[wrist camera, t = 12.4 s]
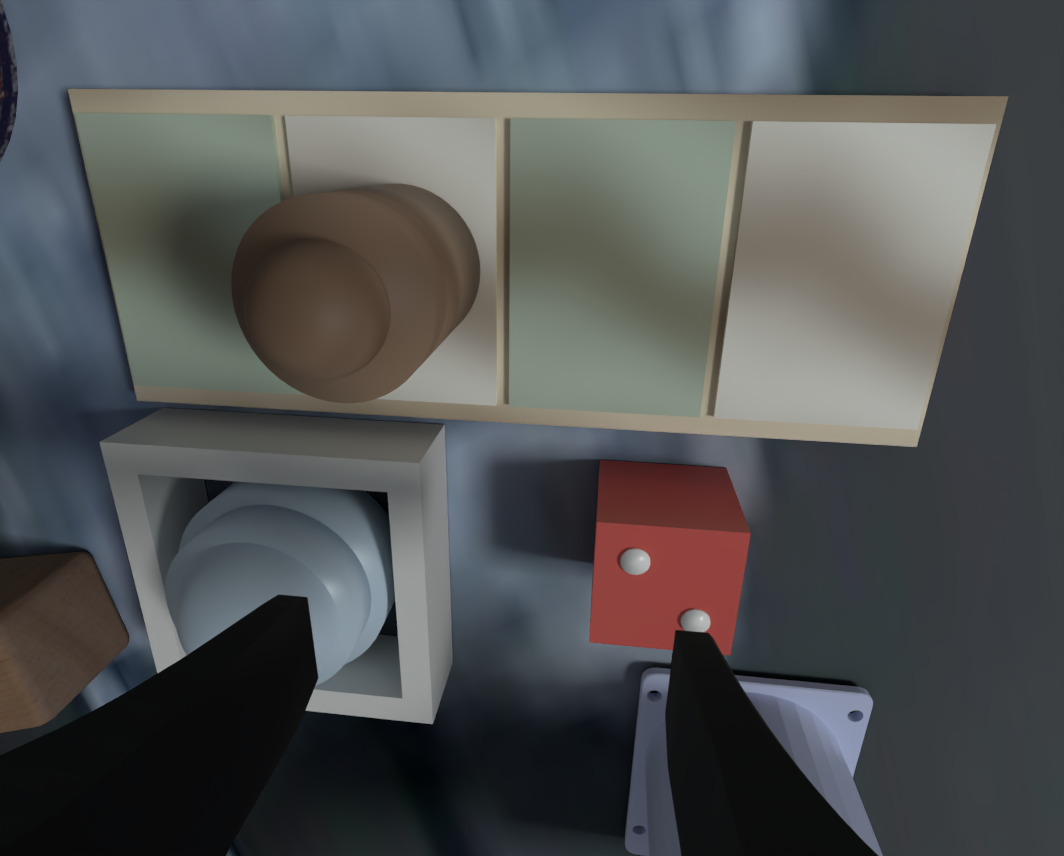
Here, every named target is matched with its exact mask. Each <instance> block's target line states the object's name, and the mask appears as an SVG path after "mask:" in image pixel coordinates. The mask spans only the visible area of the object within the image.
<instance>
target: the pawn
mask: <svg viewBox="0 0 1064 856" xmlns="http://www.w3.org/2000/svg"><path fill="white" fill-rule="evenodd" d="M479 283H480V259H479V254H478V249H477V246H476V243H475V240H474V238H473V236H472V233H471V231H470V229H469V228H468V226H467V224H466V223H465V221H464V220H463V218H462V217H461V216H460V215H459V213H458V212H457V211H456V210H455V209H454V208H453V207H452V206H451V205H450V204H449V203H447V202H446V201H445V200H443V199H442V198H441V197H439V196H437V195H436V194H434V193H432V192H430V191H428V190H425V189H423V188H420V187H417V186H413V185H407V184H385V185H377V186H369V187H362V188H354V189H346V190H339V191H331V192H323V193H316V194H308V195H302V196H296V197H293V198H290V199H287V200H284V201H282V202H280V203H278V204H276V205H274V206H272V207H270V208H269V209H268V210H266V211H265V212H264V213H262V214H261V215H260V216H259V217H258V218H257V219H256V220H255V221H254V222H253V223H252V224H251V226H250V227H249V228H248V230H247V231H246V233H245V234H244V236H243V238H242V240H241V242H240V244H239V246H238V248H237V251H236V255H235V258H234V262H233V268H232V277H231V290H232V300H233V305H234V310H235V314H236V317H237V320H238V323H239V326H240V328H241V330H242V332H243V334H244V337H245V338H246V340H247V342H248V343H249V345H250V347H251V349H252V350H253V351H254V353H255V354H256V355H257V357H258V358H259V359H260V361H261V362H262V363H263V364H264V365H265V366H266V367H267V368H268V369H269V370H270V371H271V372H272V373H273V374H274V375H276V376H277V377H278V378H279V379H280V380H282V381H283V382H285V383H286V384H288V385H289V386H291V387H292V388H294V389H296V390H298V391H300V392H302V393H304V394H306V395H309V396H311V397H314V398H317V399H321V400H324V401H329V402H336V403H359V402H366V401H370V400H374V399H377V398H379V397H382V396H384V395H387V394H389V393H390V392H392V391H394V390H395V389H397V388H398V387H400V386H401V385H402V384H403V383H405V382H406V381H407V380H408V379H409V378H410V377H411V376H412V375H413V373H414V372H415V371H416V370H417V369H418V368H419V367H420V366H421V365H422V364H423V363H424V362H425V361H426V359H427V358H428V357H429V356H430V355H431V354H432V353H433V352H434V351H435V350H436V349H437V348H438V346H439V345H440V344H441V343H442V342H443V341H444V340H445V339H446V338H447V337H448V336H449V335H450V334H451V332H452V331H453V330H454V329H455V328H456V327H457V326H458V325H459V324H460V323H461V322H462V321H463V320H464V318H465V317H466V316H467V314H468V313H469V311H470V309H471V308H472V306H473V304H474V301H475V299H476V296H477V293H478V288H479Z"/></svg>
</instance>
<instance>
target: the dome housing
mask: <svg viewBox="0 0 1064 856" xmlns="http://www.w3.org/2000/svg"><path fill="white" fill-rule="evenodd" d="M99 443H100V447H101V451H102V455H103V459H104V463H105V467H106V470H107V474H108V478H109V482H110V486H111V490H112V494H113V498H114V502H115V506H116V510H117V514H118V518H119V522H120V526H121V530H122V534H123V538H124V542H125V546H126V550H127V554H128V558H129V562H130V566H131V570H132V574H133V578H134V582H135V586H136V590H137V593H138V597H139V601H140V605H141V609H142V613H143V617H144V621H145V625H146V629H147V633H148V637H149V641H150V645H151V649H152V653H153V657H154V661H155V665H156V669H157V673H159V672H161V671H162V670H164V669H166V668H167V667H169V666H170V665H172V664H174V663H175V662H177V661H179V660H180V659H182V658H183V657H185V656H186V653H185V652H184V650H183V648H182V646H181V644H180V641H179V638H178V634H177V631H176V627H175V625H174V623H173V621H172V618H171V616H170V613H169V610H168V606H167V601H166V586H165V585H166V578H167V573H168V570H169V567H170V565H171V563H172V561H173V559H174V558H175V556H176V555H177V554H178V552H179V546H180V542H181V539H182V536H183V533H184V531H185V529H186V527H187V525H188V524H189V522H190V521H191V520H192V518H193V517H194V516H195V515H196V514H197V513H198V512H199V511H200V510H201V509H202V508H203V507H205V506H206V505H207V504H208V503H209V502H208V497H207V492H206V487H205V481H204V479H210V480H224V481H238V482H252V483H266V484H280V485H294V486H308V487H322V488H336V489H350V490H364V491H377V492H387V494H388V507H389V521H390V535H391V548H392V562H393V575H394V589H395V602H396V616H397V630H398V636H390V635H379V634H378V636H377V638H376V639H375V641H374V642H373V643H372V644H371V646H370V647H369V648H368V649H367V650H366V651H365V652H364V653H363V654H362V655H360V656H359V657H357V658H356V659H354V660H353V661H351V662H349V663H347V664H345V665H343V667H342V668H341V669H340V670H339V671H338V672H337V673H336V674H335V675H334V676H332V677H331V678H329V679H328V680H326V681H325V682H322V683H320V684H318V685H316V686H315V688H314V690H313V693H312V695H311V698H310V700H309V703H308V705H307V708H306V710H305V711H314V712H323V713H333V714H342V715H351V716H361V717H370V718H379V719H388V720H398V721H407V722H416V723H426V724H433V722H434V719H435V716H436V713H437V710H438V707H439V704H440V701H441V697H442V694H443V691H444V688H445V685H446V682H447V679H448V676H449V673H450V670H451V667H452V663H453V653H452V624H451V596H450V567H449V539H448V510H447V482H446V453H445V425H443V424H426V423H410V422H393V421H376V420H360V419H343V418H327V417H310V416H293V415H277V414H260V413H244V412H227V411H210V410H194V409H177V408H162V409H160V410H158V411H156V412H154V413H152V414H150V415H149V416H147V417H145V418H143V419H141V420H139V421H137V422H136V423H134V424H132V425H130V426H128V427H126V428H124V429H123V430H121V431H119V432H117V433H115V434H113V435H111V436H110V437H108V438H106V439H104V440H102V441H100V442H99Z"/></svg>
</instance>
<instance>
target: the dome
mask: <svg viewBox="0 0 1064 856" xmlns="http://www.w3.org/2000/svg"><path fill="white" fill-rule="evenodd" d="M165 586H166V601H167V606H168V610H169V613H170V616H171V618H172V621H173V623H174V625H175V627H176V631H177V634H178V638H179V641H180V644H181V646H182V648H183V650H184V652H185V653H186V655H188V654H189V653H191V652H192V651H194V650H195V649H197V648H198V647H200V646H201V645H203V644H204V643H206V642H207V641H209V640H210V639H212V638H213V637H215V636H216V635H218V634H219V633H221V632H222V631H224V630H225V629H227V628H228V627H230V626H231V625H233V624H234V623H236V622H237V621H239V620H240V619H242V618H243V617H244V616H246V615H247V614H249V613H250V612H252V611H253V610H255V609H256V608H258V607H259V606H261V605H262V604H264V603H265V602H267V601H269V600H270V599H272V598H273V597H275V596H277V595H278V594H279V595H290V596H301V597H308V604H309V612H310V619H311V626H312V634H313V641H314V649H315V656H316V664H317V671H318V680H317V683H316V685H318V684H320V683H322V682H325V681H326V680H328V679H329V678H331V677H332V676H334V675H335V674H336V673H337V672H338V671H339V670H340V669H341V668H342V667H343V665H345V664H347V663H349V662H351V661H353V660H354V659H356V658H357V657H359V656H360V655H362V654H363V653H364V652H365V651H366V650H367V649H368V648H369V647H370V646H371V644H372V643H373V642H374V641H375V639H376V638H377V636H378V634H379V632H380V630H381V628H382V626H383V624H384V622H385V620H386V618H387V616H388V614H389V612H390V610H391V608H392V606H393V604H394V602H395V589H394V575H393V562H392V548H391V535H390V521H389V516H388V515H387V513H386V512H385V511H384V509H383V508H382V507H381V505H380V504H379V503H378V502H377V501H376V500H375V499H374V498H373V497H372V496H371V495H370V494H368V493H367V492H366V491H364V490H350V489H336V488H322V487H308V486H294V485H280V484H266V483H252V482H238V481H234V482H233V483H232V484H231V485H230V486H229V487H227V488H226V489H225V490H224V491H223V492H221V493H220V494H219V495H218V496H217V497H215V498H214V499H213V500H212V501H211V502H209V503H208V504H207V505H206V506H205V507H203V508H202V509H201V510H200V511H199V512H198V513H197V514H196V515H195V516H194V517H193V518H192V520H191V521H190V522H189V524H188V525H187V527H186V529H185V531H184V533H183V536H182V539H181V542H180V546H179V552H178V554H177V555H176V556H175V558H174V559H173V561H172V563H171V565H170V567H169V570H168V573H167V578H166V585H165ZM316 685H315V686H316Z"/></svg>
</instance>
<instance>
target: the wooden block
mask: <svg viewBox="0 0 1064 856" xmlns="http://www.w3.org/2000/svg"><path fill="white" fill-rule="evenodd" d="M128 643H129V634H128V632H127V630H126V628H125V625H124V623H123V621H122V619H121V617H120V615H119V612H118V610H117V608H116V606H115V604H114V602H113V600H112V597H111V595H110V593H109V591H108V589H107V587H106V584H105V582H104V580H103V578H102V576H101V574H100V572H99V569H98V567H97V565H96V563H95V561H94V559H93V557H92V556H91V555H90V554H89V553H87V552H84V551H81V552H70V553H58V554H46V555H35V556H23V557H12V558H0V733H3V732H9V731H14V730H20V729H26V728H32V727H38V726H40V725H43V724H45V723H47V722H48V721H50V720H52V719H53V718H54V717H55V716H56V715H57V714H58V713H59V712H60V711H62V710H63V709H64V708H65V707H66V706H67V705H68V704H69V703H70V702H71V701H72V700H73V699H74V698H75V697H76V696H77V695H78V694H79V693H80V692H81V691H82V690H83V689H84V688H85V687H86V686H87V685H88V684H89V683H90V682H91V681H92V680H93V679H94V678H95V677H96V676H97V675H98V674H99V673H100V672H101V671H102V670H103V669H104V668H105V667H106V666H107V665H108V664H109V663H110V662H111V661H112V660H113V659H114V658H115V657H116V656H117V655H118V654H119V653H120V652H121V651H122V650H123V649H124V648H125V647H126V646H127V645H128Z"/></svg>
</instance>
